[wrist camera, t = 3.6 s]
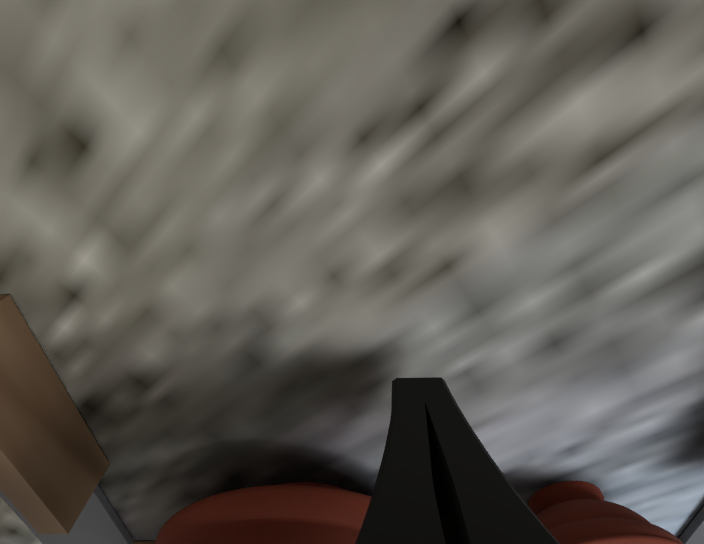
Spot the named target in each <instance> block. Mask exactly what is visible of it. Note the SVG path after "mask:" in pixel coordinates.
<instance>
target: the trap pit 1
mask: <svg viewBox="0 0 704 544" xmlns="http://www.w3.org/2000/svg"><path fill="white" fill-rule="evenodd" d="M0 496H1V497H2V498H3V499H4V500H5V502H6V503H7V504H8V505H9V506H10V507H11V508H12V509H13V511H14V512H15V513H16V514H17V515H18V516H19V517H20V518H21V520H22V521H23V522H24V523H25V524H26V525H27V526H28V527H29V529H30V530H31V531H32V532H33V533H34V534H35V535H36V536H37V538H38V539H39V540H40V541H41V542H42V543H43V544H134V540H133V538H132V537H131V535H130V534H129V532H128V531H127V529H126V527H125V526H124V524H123V523H122V521H121V520H120V518H119V517H118V515H117V514H116V512H115V510H114V509H113V507H112V506H111V504H110V503H109V501H108V500H107V498H106V496H105V495H104V493H103V492H102V490H101V489H100V487H99V486H98V485H97V487H96V488H95V490H94V492H93V493H92V495H91V497H90V498H89V500H88V502H87V503H86V505H85V507H84V509H83V510H82V512H81V514H80V515H79V517H78V519H77V520H76V522H75V524H74V525H73V527H72V529H71V530H70V532H69V534H39V533H38V532H37V531H36V530H35V529H34V527H33V526H32V525H31V524H30V523H29V522H28V521H27V520H26V518H25V517H24V516H23V515H22V514H21V513H20V512H19V510H18V509H17V508H16V507H15V506H14V505H13V504H12V502H11V501H10V500H9V499H8V498H7V497H6V496H5V494H4V493H3V492H2V491H1V490H0Z"/></svg>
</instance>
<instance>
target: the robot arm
mask: <svg viewBox="0 0 704 544" xmlns="http://www.w3.org/2000/svg"><path fill="white" fill-rule="evenodd" d="M355 544H560V543H559V542H558V541H557V540H556V539H555V537H554V536H553V535H552V534H551V533H550V532H549V531H548V529H547V528H546V527H545V526H544V525H543V524H542V522H541V521H540V520H539V519H538V518H537V516H536V515H535V514H534V513H533V512H532V510H531V509H530V508H529V507H528V506H527V504H526V503H525V502H524V501H523V499H522V498H521V497H520V495H519V494H518V493H517V492H516V490H515V489H514V488H513V486H512V485H511V484H510V482H509V481H508V480H507V478H506V477H505V476H504V474H503V473H502V472H501V470H500V469H499V468H498V466H497V465H496V463H495V462H494V461H493V459H492V458H491V456H490V455H489V454H488V452H487V451H486V449H485V448H484V446H483V445H482V443H481V442H480V440H479V439H478V437H477V436H476V434H475V433H474V431H473V430H472V428H471V426H470V425H469V423H468V422H467V420H466V418H465V417H464V415H463V413H462V412H461V410H460V408H459V407H458V405H457V403H456V401H455V400H454V398H453V396H452V394H451V392H450V390H449V388H448V387H447V385H446V382H445V381H444V380H443V379H442V378H396V379H395V380H393V381H392V409H391V420H390V426H389V431H388V436H387V441H386V446H385V450H384V454H383V458H382V462H381V465H380V469H379V473H378V477H377V480H376V484H375V487H374V490H373V494H372V497H371V500H370V503H369V506H368V509H367V512H366V515H365V518H364V521H363V524H362V526H361V529H360V532H359V534H358V537H357V540H356V542H355Z"/></svg>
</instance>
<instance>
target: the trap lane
mask: <svg viewBox="0 0 704 544" xmlns="http://www.w3.org/2000/svg"><path fill="white" fill-rule="evenodd" d="M109 465H110V464H109V462H108V460H107V459H106V457H105V455H104V454H103V452H102V450H101V448H100V447H99V445H98V443H97V442H96V440H95V438H94V437H93V435H92V433H91V431H90V430H89V428H88V426H87V425H86V423H85V421H84V420H83V418H82V416H81V415H80V413H79V411H78V409H77V408H76V406H75V404H74V403H73V401H72V399H71V398H70V396H69V394H68V393H67V391H66V389H65V387H64V386H63V384H62V382H61V381H60V379H59V377H58V376H57V374H56V372H55V370H54V369H53V367H52V365H51V364H50V362H49V360H48V359H47V357H46V355H45V354H44V352H43V350H42V348H41V347H40V345H39V343H38V342H37V340H36V338H35V337H34V335H33V333H32V331H31V330H30V328H29V326H28V325H27V323H26V321H25V320H24V318H23V316H22V315H21V313H20V311H19V309H18V308H17V306H16V304H15V303H14V301H13V299H12V298H11V296H10V295H0V490H1V491H2V492H3V493H4V494H5V496H6V497H7V498H8V499H9V500H10V501H11V502H12V504H13V505H14V506H15V507H16V508H17V509H18V510H19V512H20V513H21V514H22V515H23V516H24V517H25V518H26V520H27V521H28V522H29V523H30V524H31V525H32V526H33V527H34V529H35V530H36V531H37V532H38V533H39V534H69V532H70V530H71V529H72V527H73V525H74V524H75V522H76V520H77V519H78V517H79V515H80V514H81V512H82V510H83V509H84V507H85V505H86V503H87V502H88V500H89V498H90V497H91V495H92V493H93V492H94V490H95V488H96V487H97V485H98V483H99V482H100V480H101V478H102V476H103V475H104V473H105V471H106V470H107V468H108V466H109ZM134 544H155V541H134Z"/></svg>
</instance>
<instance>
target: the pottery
mask: <svg viewBox="0 0 704 544" xmlns="http://www.w3.org/2000/svg"><path fill="white" fill-rule="evenodd" d="M371 497H372V496H368V495H365V494H361V493H357V492H352V491H348V490H345V489H342V488H339V487H336V486H332V485H327V484H322V483H313V482H292V483H284V484H279V485H266V486H256V487H248V488H242V489H236V490H231V491H227V492H223V493H219V494H216V495H213V496H209V497H207V498H204V499H201V500H199V501H197V502H195V503H192V504H190V505H189V506H187V507H185V508H183V509H182V510H180V511H179V512H177V513H176V514H175V515H173V516H172V517H171V518H170V519H169V520H168V521H167V522H166V523H165V524H164V525H163V527H162V528H161V530H160V531H159V533H158V535H157V538H156V541H155V544H355V542H356V540H357V537H358V534H359V532H360V529H361V526H362V524H363V521H364V518H365V515H366V512H367V509H368V506H369V503H370V500H371ZM528 507H529V508H530V509H531V510H532V512H533V513H534V514H535V515H536V516H537V518H538V519H539V520H540V521H541V522H542V524H543V525H544V526H545V527H546V528H547V529H548V531H549V532H550V533H551V534H552V535H553V536H554V537H555V539H556V540H557V541H558V542H559V543H560V544H684V543H683V542H682V541H681V540H679V539H678V538H677V537H676V536H674V535H673V534H671V533H670V532H668V531H666V530H664V529H663V528H660V527H658V526H656V525H653V524H651V523H650V522H648V521H647V520H646V519H645V518H643V517H642V516H641V515H639V514H637V513H636V512H634V511H632V510H630V509H628V508H626V507H624V506H621V505H618V504H615V503H612V502H608V501H604V496H603V494H602V492H601V491H600V489H599V488H598V487H597V486H595V485H593V484H591V483H588V482H583V481H564V482H559V483H555V484H551V485H548V486H546V487H544V488H542V489H540V490H539V491H537V492H536V493H534V494H533V495H532V496H531V498H530V499H529V501H528Z"/></svg>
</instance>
